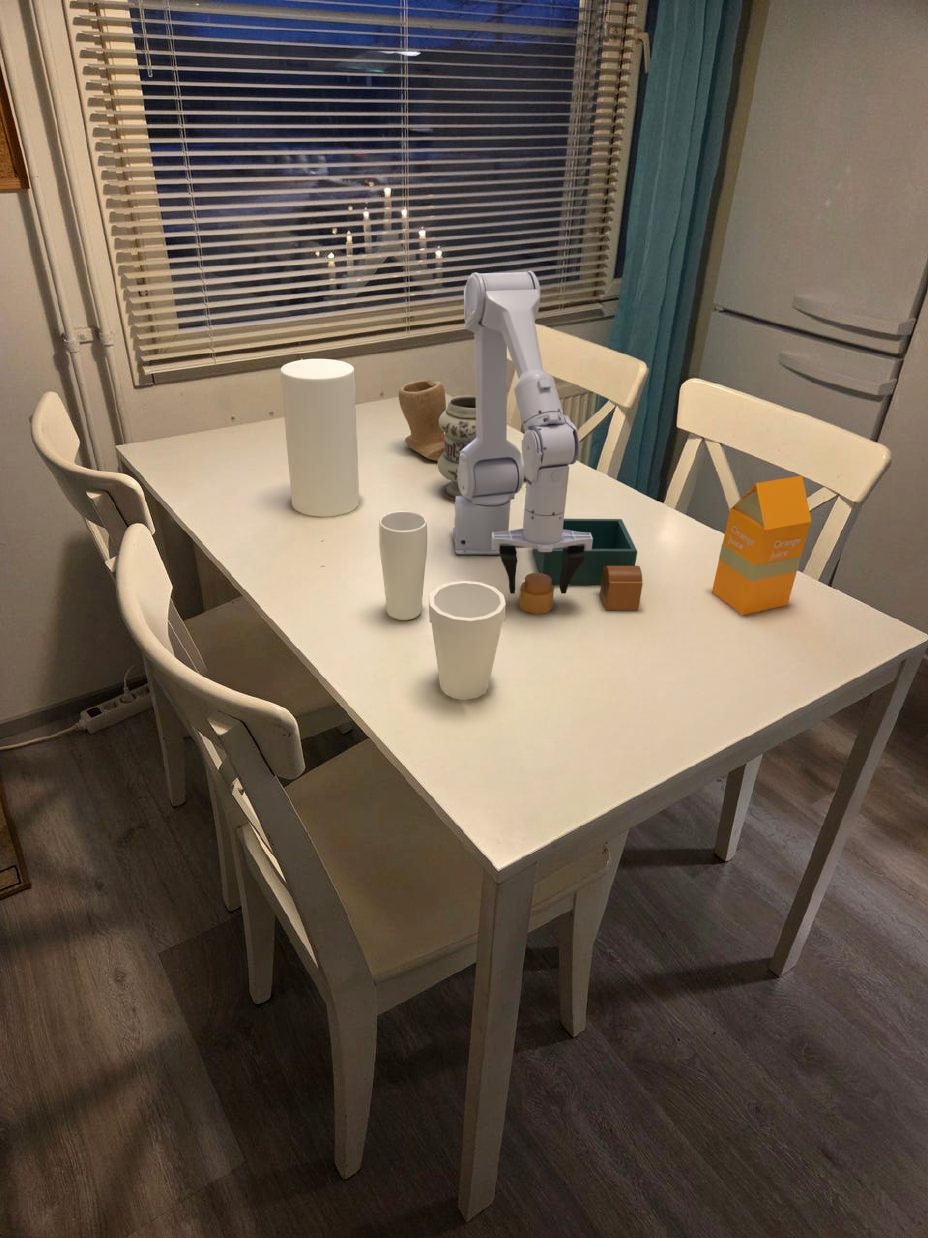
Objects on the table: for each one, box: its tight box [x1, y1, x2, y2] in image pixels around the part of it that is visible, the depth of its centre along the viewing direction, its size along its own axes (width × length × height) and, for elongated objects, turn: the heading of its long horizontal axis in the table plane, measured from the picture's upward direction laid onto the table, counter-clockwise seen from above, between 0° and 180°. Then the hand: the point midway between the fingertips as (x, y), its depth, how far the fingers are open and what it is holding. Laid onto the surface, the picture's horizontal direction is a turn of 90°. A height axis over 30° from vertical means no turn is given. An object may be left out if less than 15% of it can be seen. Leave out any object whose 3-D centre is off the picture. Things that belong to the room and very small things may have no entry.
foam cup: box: [428, 580, 507, 701], centre depth 104 cm, size 10×9×13 cm
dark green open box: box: [532, 518, 638, 586], centre depth 135 cm, size 15×12×6 cm
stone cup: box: [398, 379, 447, 462], centre depth 174 cm, size 15×12×15 cm
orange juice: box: [711, 475, 812, 616], centre depth 124 cm, size 8×9×20 cm
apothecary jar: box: [436, 395, 476, 502], centre depth 156 cm, size 12×12×18 cm
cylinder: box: [280, 358, 360, 518], centre depth 148 cm, size 12×12×25 cm
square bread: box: [599, 565, 644, 611], centre depth 126 cm, size 5×5×6 cm
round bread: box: [518, 572, 555, 615], centre depth 124 cm, size 5×5×5 cm
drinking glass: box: [378, 510, 428, 621], centre depth 119 cm, size 7×7×15 cm
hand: (537, 590), depth 124 cm, fingers open, 7 cm apart
